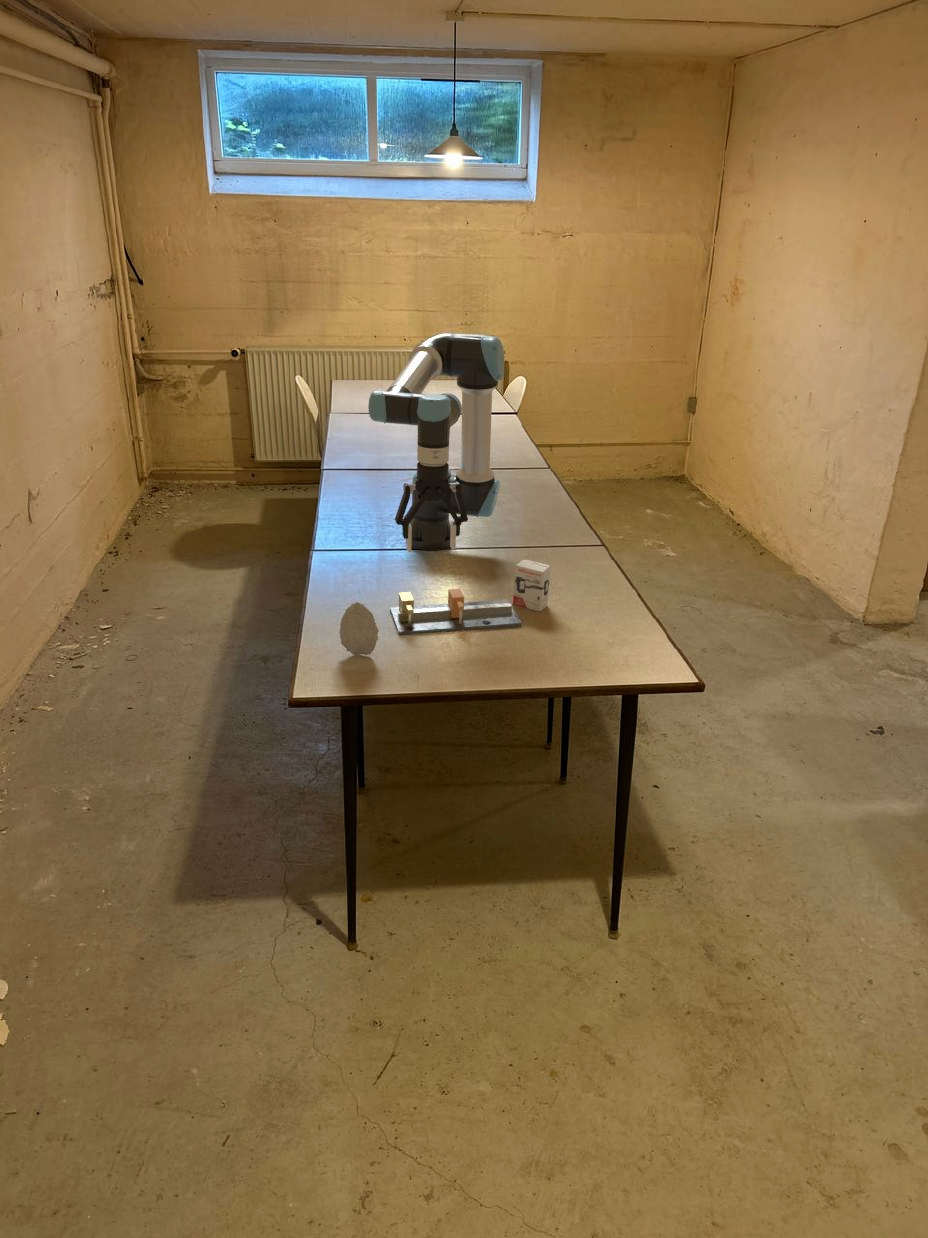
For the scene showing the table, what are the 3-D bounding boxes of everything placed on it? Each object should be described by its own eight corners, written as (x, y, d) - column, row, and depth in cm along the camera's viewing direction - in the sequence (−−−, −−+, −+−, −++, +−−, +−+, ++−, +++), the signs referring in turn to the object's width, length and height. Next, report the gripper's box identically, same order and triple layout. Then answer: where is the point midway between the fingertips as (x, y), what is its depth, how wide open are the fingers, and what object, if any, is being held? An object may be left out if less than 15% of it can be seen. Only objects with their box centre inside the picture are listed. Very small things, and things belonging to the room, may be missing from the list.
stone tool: (379, 653, 203) (378, 596, 196) (378, 659, 200) (378, 602, 194) (340, 653, 203) (338, 596, 196) (339, 659, 200) (337, 602, 193)
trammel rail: (396, 614, 220) (396, 592, 217) (508, 607, 226) (509, 585, 224) (402, 630, 212) (402, 607, 209) (517, 621, 219) (519, 599, 216)
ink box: (512, 604, 230) (514, 564, 225) (520, 597, 234) (523, 558, 229) (540, 612, 227) (544, 571, 221) (548, 605, 231) (551, 565, 225)
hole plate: (390, 610, 224) (390, 607, 223) (506, 603, 231) (507, 599, 230) (399, 635, 212) (399, 631, 211) (521, 626, 219) (521, 622, 218)
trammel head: (447, 610, 223) (448, 589, 220) (458, 609, 223) (459, 588, 220) (455, 625, 215) (455, 603, 212) (466, 624, 216) (467, 603, 213)
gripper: (387, 468, 195) (387, 557, 205) (483, 465, 200) (479, 552, 210) (382, 459, 202) (382, 545, 211) (475, 456, 207) (472, 541, 217)
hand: (430, 549), depth 211 cm, fingers open, 10 cm apart
